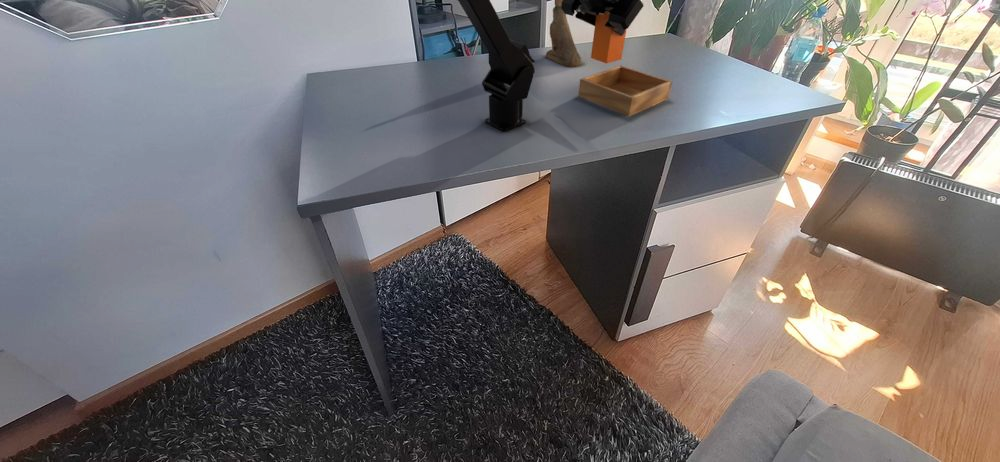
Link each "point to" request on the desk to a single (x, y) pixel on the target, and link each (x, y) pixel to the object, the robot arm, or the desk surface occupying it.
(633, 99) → the wooden box
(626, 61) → the desk surface
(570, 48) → the worn brown figurine
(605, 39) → the orange square pillar
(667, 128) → the desk surface
